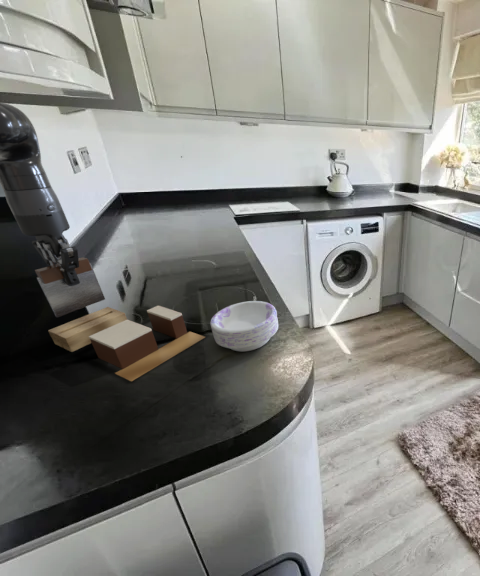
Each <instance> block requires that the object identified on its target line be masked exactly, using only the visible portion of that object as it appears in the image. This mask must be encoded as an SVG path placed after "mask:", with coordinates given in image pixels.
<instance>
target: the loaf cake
mask: <svg viewBox="0 0 480 576" xmlns="http://www.w3.org/2000/svg"><path fill="white" fill-rule="evenodd" d="M89 338H90V340H91V343H90V344H91V345H92V347H93V350H94V352H95V353H96V356H97V358H98V359H100V360H102V361H104V362H106V363H109V364H111V365H113V366H115V367H117V368H119V369H120V370H121V369H124V368H126V367H128V366H130V365H131V364H133V363H135V362H137V361H139V360H140V359H142V358H144V357H146V356H148V355H149V354H151V353H153V352H155V351H157V350H158V349H159V346H158V343H157V341H156V338H155V336H154V332H153V328H151V327H148V326H145V325H143V324H141V323H138V322H136V321H132V320H129V319H127V320H125V321H123V322H120V323H118V324H116V325H114V326H111V327H109V328H107V329H104V330H102V331H100V332H98V333H95V334H93V335H91V336H89Z"/></svg>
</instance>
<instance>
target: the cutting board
mask: <svg viewBox="0 0 480 576" xmlns="http://www.w3.org/2000/svg"><path fill="white" fill-rule="evenodd" d="M205 338H206V336H204V335H202V334H198V333H195V332H192V331H187V333H186V334H185V335H183V336H181V337H179V338H177V339H176V338H174V339H172V341H170V342H167V343H166V344H164V345H163V346H161V347H158V350H157V351H155V352H153V353H151V354H149V355H148V356H146V357H144V358H142V359H140V360H139V361H137V362H135V363H133V364H131V365H130V366H128V367H126V368H124V369H121V368H120V369H119V370H118V371H116V372H114V375H117V376H119V377H121V378H123V379H125V380H127V381H129V382H133V381H135V380H137V379H138V378H140V377H142V376H143V375H145V374H147V373H148V372H150V371H152V370H153V369H155V368H157V367H158V366H160V365H161V364H163V363H165V362H166V361H169V360H170V359H172V358H173V357H175V356H176V355H179V354H180V353H181V352H182V353H183V352H184V351H185V350H186V349H188V348H190V347H191V346H194V345H195V344H197V343H199V342H200V341H201V340H203V339H205Z"/></svg>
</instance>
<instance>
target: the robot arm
mask: <svg viewBox="0 0 480 576" xmlns="http://www.w3.org/2000/svg"><path fill="white" fill-rule="evenodd" d="M41 154H42V153H41V149H40V143H39V138H38V134H37V132H36V129H35V127H34V124H33V123H32V121H31V119H30V118H29V117H28V116H27V115H26V113H24V112H23V111H22V110H21V109H19V108H18V107H16V106H15V105H12V104H8V103H6V102H0V186H1V188H2V190H3V193H4V196H5V199H6V200H5V201H6V203H7V205H8V207H9V209H10V211H11V213H12V215H13V217H14V219H15V221H16V223H17V225H18V228H19V229H20V231H21V233H22V234H23V235H24V236H29V237H35V239H36V240H33V241H31V244H32V246H33V247H34V248H35V250H36V252H38V255H40V256H41V258H42V259H43V261H44V262H45V264H46V265H47V266H52V265H56V264H57V265H58V267H59V269H60V271H61V273H62V275H63V277H64V279H65V281H66V284H67V285H68V286H74V285H77V284H79V283H80V281H79V278H78V276H77V274H76V271H75V268H78V267H79V260H78V258H79V250H78V248H77V247H76V246H75V245H74V246H70V245H71V244H70V242H69V241H68V239H67V238H66V237H65V236H64V234H63V233H64V232H66V231H68V230H70V224H69V221H68V219H67V217H66V213H65V211H64V209H63V207H62V204H61V202H60V199H59V198H58V196H57V194H56V192H55V190H54V189H53V186H52V185H51V182H50V179H49V177H48V175H47V171H46V170H45V168H44V167H43V163H42V155H41ZM68 263H69V264H68Z"/></svg>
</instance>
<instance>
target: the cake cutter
mask: <svg viewBox="0 0 480 576" xmlns="http://www.w3.org/2000/svg"><path fill="white" fill-rule="evenodd" d="M78 260H79V267H78V268H75V271H76V274H77V276H78V278H79V281H80V283H79V284H77V285H74V286H68V285H67V284H66V281H65V279H64V277H63V275H62V273H61V271H60V269H59V267H58V265H57V264H56V265H52V266H51V265H47V266H45V267H41V268H38V269H34V272H35V274H36V276H37V277H36V280H37V282H38V284H39V286H40V288H41V290H42V292H43V294H44V296H45V298H46V300H47V302H48V303H49V306H50V308H51V310H52V312H53V314H54V316H55V318H60V317H62V316H65V315H67V314H70V313H72V312H75V311H78V310H81V309H83V308H86V307H88V306H91V305H94V304H97V303H99V302H103V301H105V300H106V298H105V295H104V292H103V290H102V288H101V284H100V283H99V279H98V278H97V275H96V273H95V270H94V268H93V265H92V263H91V262H90V260H89V259H88V258H87V257H84V256H83V257H78ZM68 264H69V263H68Z"/></svg>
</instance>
